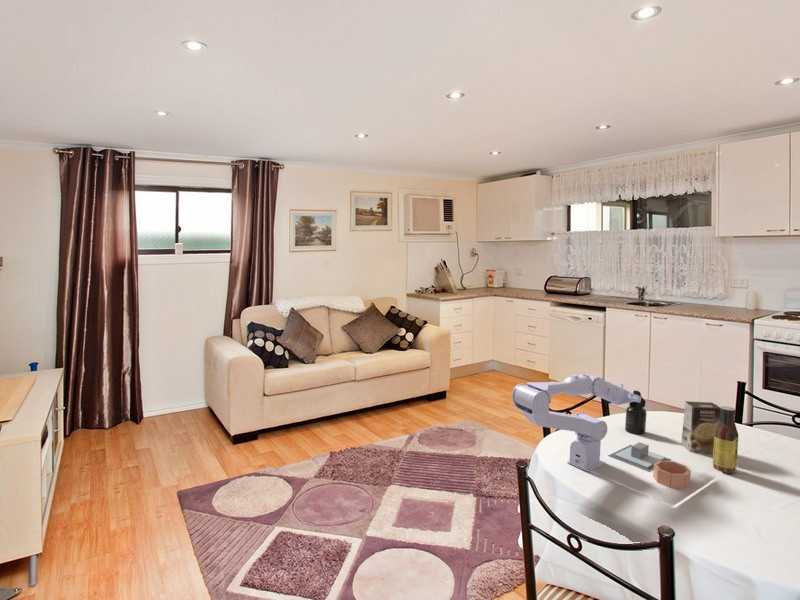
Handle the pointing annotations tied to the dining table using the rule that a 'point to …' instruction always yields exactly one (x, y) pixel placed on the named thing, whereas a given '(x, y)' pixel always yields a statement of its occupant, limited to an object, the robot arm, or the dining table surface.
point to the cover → (639, 455)
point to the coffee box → (700, 426)
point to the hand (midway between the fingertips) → (633, 402)
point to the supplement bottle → (635, 420)
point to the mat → (633, 463)
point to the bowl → (671, 474)
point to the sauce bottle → (726, 441)
